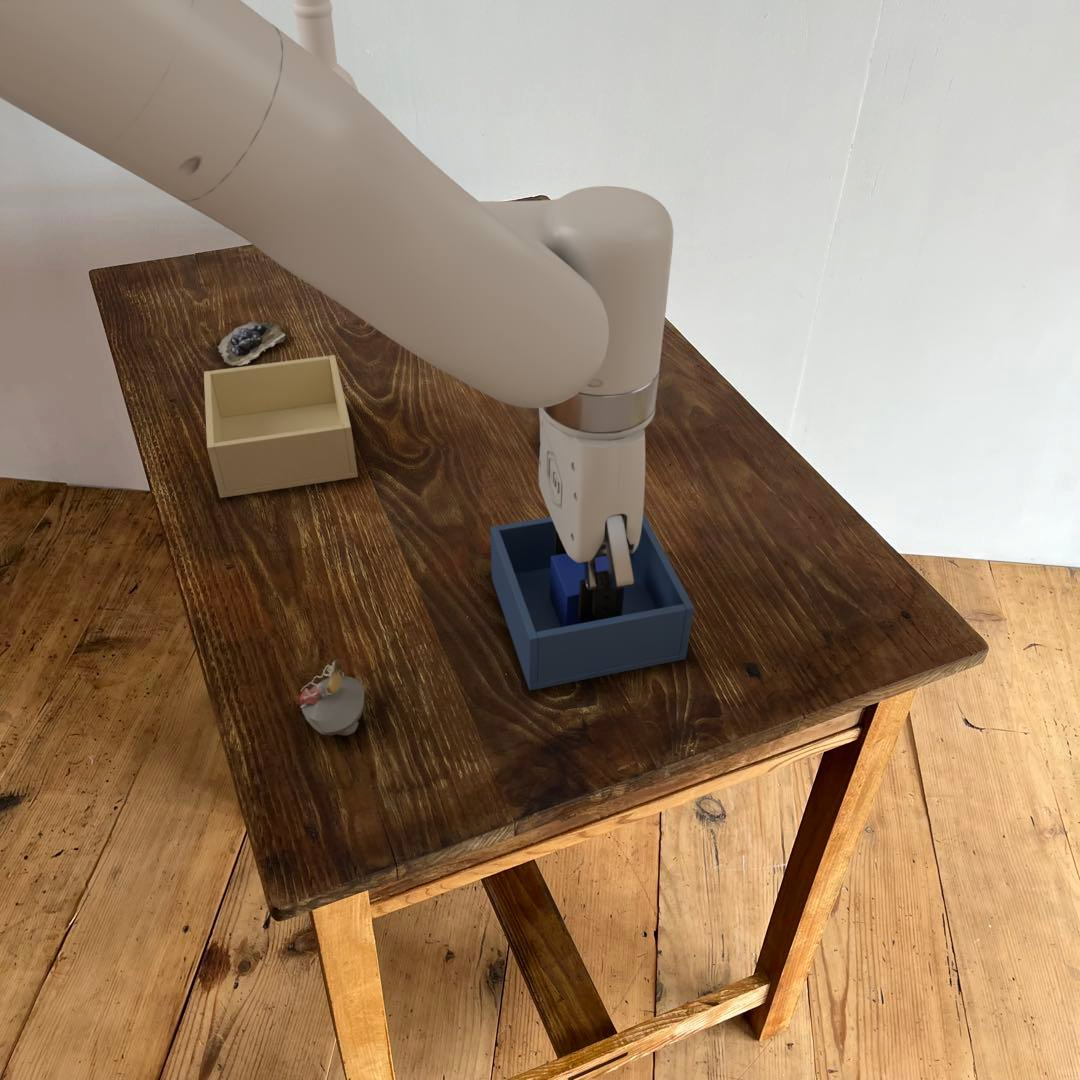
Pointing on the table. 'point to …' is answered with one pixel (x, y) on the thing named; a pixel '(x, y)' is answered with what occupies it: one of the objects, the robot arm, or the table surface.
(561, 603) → the blue block
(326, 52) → the bottle
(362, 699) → the figurine
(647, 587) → the blue bin
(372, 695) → the table surface
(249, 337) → the grey flat lumpy piece
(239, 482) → the cream bin
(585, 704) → the table surface
